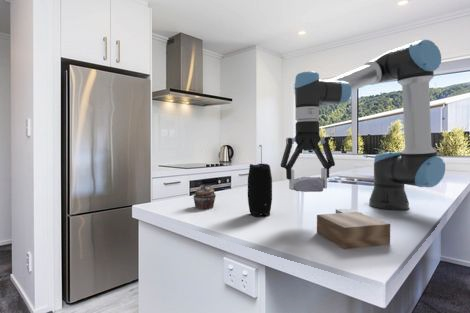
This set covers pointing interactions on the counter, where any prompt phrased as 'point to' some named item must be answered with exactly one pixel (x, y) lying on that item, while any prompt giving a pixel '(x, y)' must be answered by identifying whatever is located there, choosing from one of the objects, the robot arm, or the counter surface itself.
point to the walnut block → (353, 230)
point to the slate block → (346, 211)
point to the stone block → (308, 184)
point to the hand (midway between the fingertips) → (307, 188)
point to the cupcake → (204, 197)
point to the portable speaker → (259, 189)
